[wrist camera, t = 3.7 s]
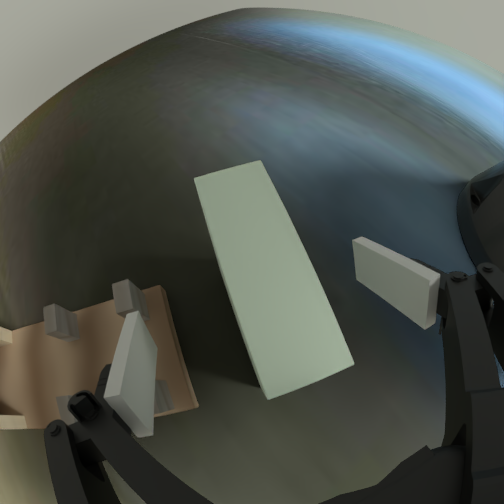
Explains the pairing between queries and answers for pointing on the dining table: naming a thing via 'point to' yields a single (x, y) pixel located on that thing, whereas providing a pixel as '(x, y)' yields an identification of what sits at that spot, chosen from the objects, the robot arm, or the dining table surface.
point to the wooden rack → (85, 358)
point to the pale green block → (270, 281)
